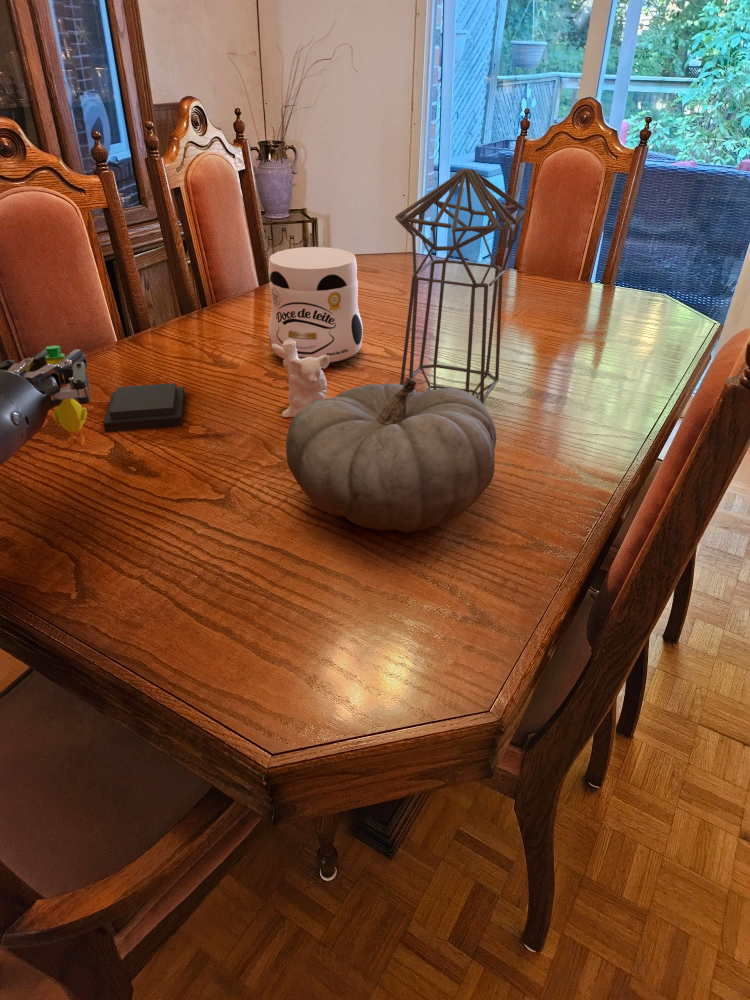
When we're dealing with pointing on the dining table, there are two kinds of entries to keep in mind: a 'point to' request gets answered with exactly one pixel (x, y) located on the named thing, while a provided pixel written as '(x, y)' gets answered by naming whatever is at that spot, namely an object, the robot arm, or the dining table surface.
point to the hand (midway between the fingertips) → (66, 356)
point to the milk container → (315, 302)
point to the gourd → (393, 454)
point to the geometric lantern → (484, 197)
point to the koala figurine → (302, 377)
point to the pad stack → (145, 407)
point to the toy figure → (67, 405)
